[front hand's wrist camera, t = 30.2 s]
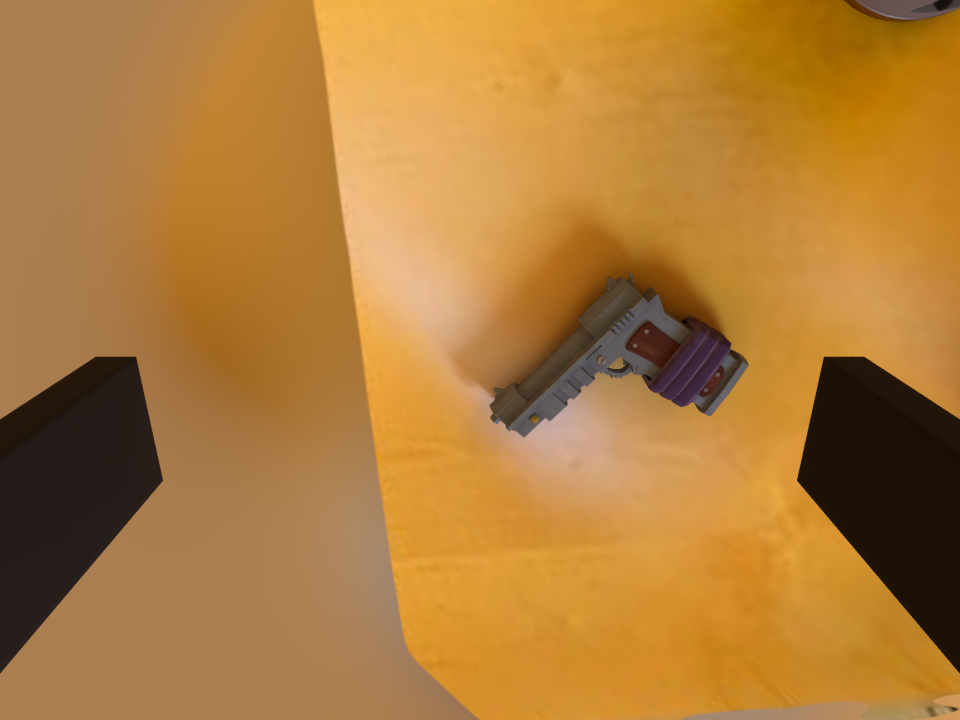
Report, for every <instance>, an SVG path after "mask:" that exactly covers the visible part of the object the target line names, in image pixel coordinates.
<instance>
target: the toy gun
mask: <svg viewBox="0 0 960 720" xmlns="http://www.w3.org/2000/svg"><path fill="white" fill-rule="evenodd" d="M607 280H608V283H607V285H606V286H605V287H606V289H607V290H606V291H605V292H604V293H603V294H602V295H601V296H600V297H599V298H598V299H597V300H596V301H595V302H594V303H593V304H592V305H591V306H590V307H589V308H588V309H587V310H586V311H585V312H584V313H583V314H582V315H581V316H580V317H579V318H578V320H579V322H580V323H581V325H580V326H579V327H578V328H577V329H576V330H575V331H574V332H573V333H572V334H571V335H570V336H569V337H568V338H567V339H566V340H565V341H564V342H563V343H562V344H561V345H560V346H559V347H558V348H557V349H556V350H555V351H554V352H553V353H552V354H551V355H550V356H549V357H548V358H547V359H546V360H545V361H544V362H543V363H542V364H541V365H540V366H539V367H538V368H536V369H535V370H534V371H533V372H532V373H531V374H530V375H529V376H528V377H527V378H526V379H525V380H524V381H523V382H522V383H521V384H520V385H518V384H517V383H512V384H511V385H510V386H509V387H508V388H507V389H501V388H495V387H494V388H493V389H494V392H496V393H498V394H497V395H495V398H496V400H495V401H494V402H492V403H491V404H490V405H489V406H490V408H491V410H492V412H493V413H494V414H492V415H491V417H490V418H491V420H492V421H493V422H494V423H496V424H497V423H499V422H500V421H502V422H503V423H504V424H506V428H507V430H508V431H510V430H511V429H512V430H513V431H514V430H515V431H516V432H518V433H519V434H520V435H521V436H522V437H525V436H526V435H528V434H529V433H530V432H531V431H532V430H533V429H534V428H535V427H536V426H537V425H538V424H539V423H540V422H541V421H542V420H543V419H545V418H546V419H548V420H549V421H551V420H552V419H553V418H554V417H555V416H556V415H557V414H558V413H559V412H561V411H562V410H563V409H564V408H565V407H566V406H567V400H568V399H569V398H572V399H574V398H576V397H577V396H578V395H579V394H580V393H581V389H580V388H581V387H582V386H583V385H585V386H588V385H589V384H591V383H592V382H593V381H594V380H595V377H594V375H595V374H596V373H597V372H598V371H599V372H600V373H602V372H603V373H605V374H606V375H609V374H610V377H611V378H613V377H614V376H615V378H617V377H618V376H619V377H620V378H622V377H623V376H625V375H628V374H629V373H630V372H631V371H632V372H633V374H636V375H641V374H642V378H643V379H644V381H645V383H646V384H647V386H648V388H649V389H650V390H651V391H653V392H655V393H659V394H660V395H661V396H662V397H664V398H666V399H668V400H670V399H671V400H672V402H673V403H675V404H677V405H679V406H681V407H684V406H686V405H688V404H690V403H691V402H693V403H695V405H696V407H697V409H698V410H699V411H700V412H702V413H704V414H706V415H708V416H711V415H712V414H713V413H714V411H715V410H716V409H717V408H718V406H719V405H720V404H721V403H722V401H723V400H724V399H725V398H726V396H727V395H728V394H729V393H730V391H731V390H732V388H733V387H734V386H735V384H736V383H737V381H738V380H739V378H740V377H741V376H742V374H743V373H744V371H745V370H746V368H747V367H748V366H749V365H748V363H747V360H746V359H745V358H744V357H743V356H742V355H741V354H739V353H737V352H735V351H733V350H730V347H731V342H730V341H729V340H728V339H727V338H725V337H724V336H723V335H722V334H721V333H720V332H719V331H717V330H715V329H713V328H711V327H709V326H708V325H706V324H705V323H703V322H701V321H698V320H697V319H696V318H694V317H691V316H690V317H687V318H685V319H684V320H683V321H682V322H680V321H679V320H677V319H676V318H675V317H673V316H672V315H670V314H669V313H667V312H666V311H665V310H663V306H662V303H661V300H660V297H659V295H658V294H657V293H656V292H655V291H654V290H653V289H652V288H651V287H649V288H648V289H647V290H646V291H645V292H644V293H643V294H641V293H640V292H639V291H638V290H637V289H636V288H635V287H634V286H635V284H634V282H633V277H632V273H631V272H629V282H628V281H627V280H626V279H625V278H624V277H623V276H621V277H620V278H619V279H618V280H617V281H615V280H614V279H613V278H612V277H611V276H609V277H608V278H607ZM619 356H621V357H622V359H623V361H624V362H623V365H625V366H624V367H623V368H621V369H611V368H608V367H609V366H610V365H611V364H612V363H613V362H614V361H615V360H616V359H617V358H618V357H619Z"/></svg>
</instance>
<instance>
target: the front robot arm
mask: <svg viewBox="0 0 960 720" xmlns="http://www.w3.org/2000/svg"><path fill="white" fill-rule="evenodd" d="M845 1H846V2H847V3H848V4H849V5H851V6H852V7H854V8H855V9H857V10H858V11H860V12H862V13H864V14H866V15H868V16H871V17H874V18H877V19H881V20H886V21H896V22H902V21H914V20H921V19H926V18H931V17H935V16H939V15H943V14H946V13H949V12H952V11H954V10H956V9H958V8H960V0H845ZM162 481H163V478H162V474H161V469H160V465H159V460H158V456H157V451H156V446H155V442H154V437H153V432H152V428H151V423H150V419H149V414H148V410H147V405H146V400H145V396H144V391H143V387H142V382H141V377H140V373H139V368H138V364H137V359H136V357H95V358H93V359H92V360H90V361H89V362H87V363H86V364H84V365H83V366H81V367H79V368H78V369H76V370H75V371H74V372H72V373H70V374H69V375H67V376H66V377H64V378H63V379H61V380H60V381H58V382H57V383H55V384H54V385H52V386H50V387H49V388H47V389H46V390H44V391H43V392H41V393H40V394H38V395H37V396H35V397H34V398H32V399H31V400H29V401H28V402H26V403H25V404H23V405H21V406H20V407H18V408H17V409H15V410H14V411H12V412H11V413H9V414H8V415H6V416H5V417H3V418H2V419H0V673H1V672H2V671H3V669H4V668H5V667H6V666H7V665H8V664H9V662H10V661H11V660H12V659H13V658H14V656H15V655H16V654H17V653H18V652H19V651H20V649H21V648H22V647H23V646H24V645H25V643H26V642H27V641H28V640H29V639H30V637H31V636H32V635H33V634H34V633H35V632H36V630H37V629H38V628H39V627H40V626H41V624H42V623H43V622H44V621H45V620H46V619H47V617H48V616H49V615H50V614H51V613H52V611H53V610H54V609H55V608H56V607H57V605H58V604H59V603H60V602H61V601H62V600H63V598H64V597H65V596H66V595H67V594H68V592H69V591H70V590H71V589H72V588H73V587H74V585H75V584H76V583H77V582H78V581H79V579H80V578H81V577H82V576H83V575H84V574H85V572H86V571H87V570H88V569H89V568H90V566H91V565H92V564H93V563H94V562H95V561H96V559H97V558H98V557H99V556H100V555H101V553H102V552H103V551H104V550H105V549H106V547H107V546H108V545H109V544H110V543H111V542H112V540H113V539H114V538H115V537H116V536H117V534H118V533H119V532H120V531H121V530H122V529H123V527H124V526H125V525H126V524H127V523H128V521H129V520H130V519H131V518H132V517H133V515H134V514H135V513H136V512H137V511H138V510H139V508H140V507H141V506H142V505H143V504H144V502H145V501H146V500H147V499H148V498H149V497H150V495H151V494H152V493H153V492H154V491H155V489H156V488H157V487H158V486H159V485H160V484H161V482H162ZM797 481H798V482H799V484H800V485H801V486H802V487H803V488H804V489H805V491H806V492H807V493H808V494H809V495H810V497H811V498H812V499H813V500H814V501H815V502H816V504H817V505H818V506H819V507H820V508H821V510H822V511H823V512H824V513H825V514H826V516H827V517H828V518H829V519H830V520H831V521H832V523H833V524H834V525H835V526H836V527H837V529H838V530H839V531H840V532H841V533H842V534H843V536H844V537H845V538H846V539H847V540H848V542H849V543H850V544H851V545H852V546H853V547H854V549H855V550H856V551H857V552H858V553H859V555H860V556H861V557H862V558H863V559H864V561H865V562H866V563H867V564H868V565H869V566H870V568H871V569H872V570H873V571H874V572H875V574H876V575H877V576H878V577H879V578H880V579H881V581H882V582H883V583H884V584H885V585H886V587H887V588H888V589H889V590H890V591H891V592H892V594H893V595H894V596H895V597H896V598H897V600H898V601H899V602H900V603H901V604H902V606H903V607H904V608H905V609H906V610H907V611H908V613H909V614H910V615H911V616H912V617H913V619H914V620H915V621H916V622H917V623H918V624H919V626H920V627H921V628H922V629H923V630H924V632H925V633H926V634H927V635H928V636H929V637H930V639H931V640H932V641H933V642H934V643H935V645H936V646H937V647H938V648H939V649H940V651H941V652H942V653H943V654H944V655H945V656H946V658H947V659H948V660H949V661H950V662H951V664H952V665H953V666H954V667H955V668H956V669H957V671H958V672H959V673H960V419H958V418H957V417H955V416H954V415H952V414H951V413H949V412H948V411H946V410H945V409H943V408H942V407H940V406H939V405H937V404H935V403H934V402H932V401H931V400H929V399H928V398H926V397H925V396H923V395H922V394H920V393H919V392H917V391H916V390H914V389H913V388H911V387H910V386H908V385H906V384H905V383H903V382H902V381H900V380H899V379H897V378H896V377H894V376H893V375H891V374H890V373H888V372H887V371H885V370H884V369H882V368H881V367H879V366H877V365H876V364H874V363H873V362H871V361H870V360H868V359H867V358H865V357H824V359H823V364H822V368H821V373H820V377H819V382H818V387H817V391H816V396H815V400H814V405H813V410H812V414H811V419H810V423H809V428H808V432H807V437H806V442H805V446H804V451H803V455H802V460H801V465H800V469H799V474H798V478H797Z"/></svg>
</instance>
